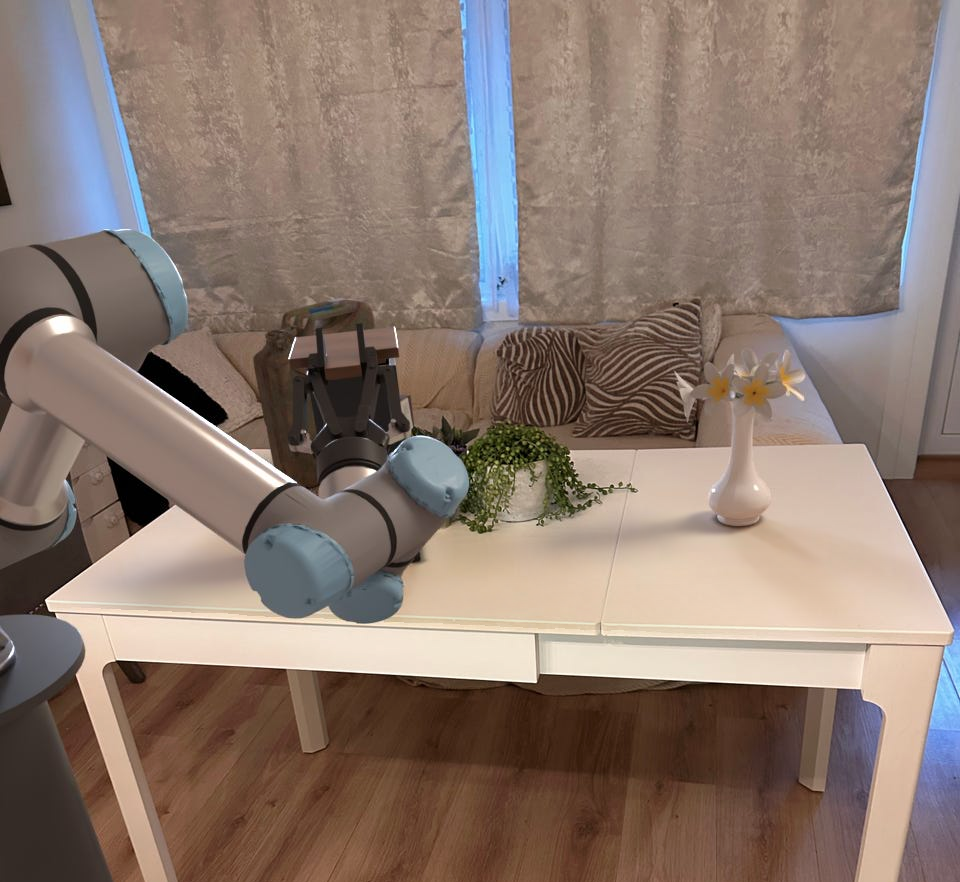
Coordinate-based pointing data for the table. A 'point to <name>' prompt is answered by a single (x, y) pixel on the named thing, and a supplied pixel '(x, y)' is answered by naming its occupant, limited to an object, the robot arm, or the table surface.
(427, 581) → the table surface
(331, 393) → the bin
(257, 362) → the container
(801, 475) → the table surface
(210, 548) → the table surface
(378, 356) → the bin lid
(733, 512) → the flower vase
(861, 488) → the table surface
